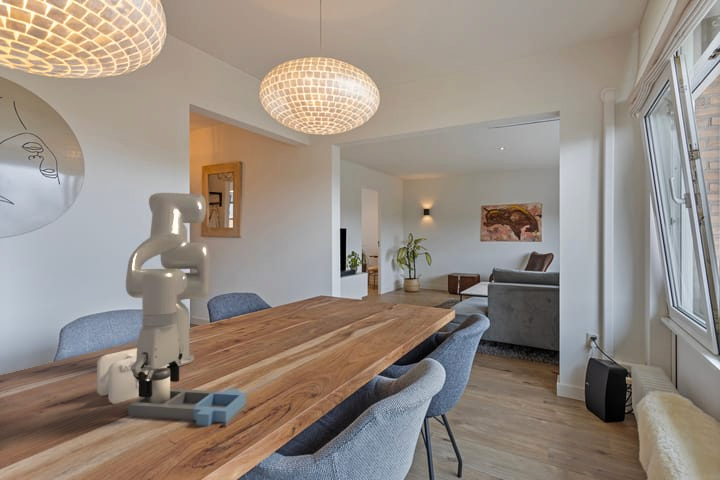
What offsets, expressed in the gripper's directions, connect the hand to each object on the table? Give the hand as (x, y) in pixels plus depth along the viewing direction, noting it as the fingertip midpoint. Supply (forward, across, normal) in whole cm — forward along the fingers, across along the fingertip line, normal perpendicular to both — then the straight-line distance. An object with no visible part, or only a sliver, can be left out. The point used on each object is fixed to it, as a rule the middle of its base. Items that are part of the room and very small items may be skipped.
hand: (160, 388), depth 89 cm
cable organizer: (+6, -8, -14) cm, 17 cm away
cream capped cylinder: (+5, 0, 0) cm, 5 cm away
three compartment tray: (+6, 0, +8) cm, 10 cm away
